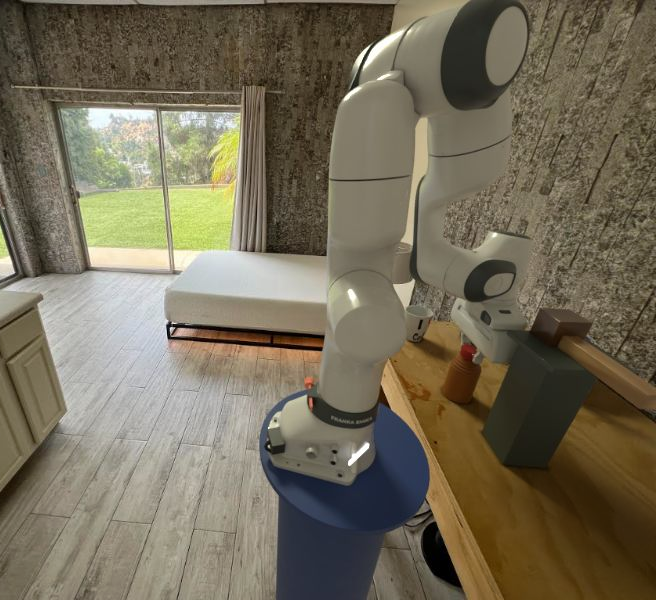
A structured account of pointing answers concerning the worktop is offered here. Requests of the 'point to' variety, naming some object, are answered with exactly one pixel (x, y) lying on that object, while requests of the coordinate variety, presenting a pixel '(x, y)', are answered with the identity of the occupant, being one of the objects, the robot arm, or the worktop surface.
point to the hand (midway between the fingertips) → (470, 355)
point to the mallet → (591, 354)
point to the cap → (468, 351)
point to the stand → (537, 401)
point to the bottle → (461, 380)
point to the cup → (417, 322)
